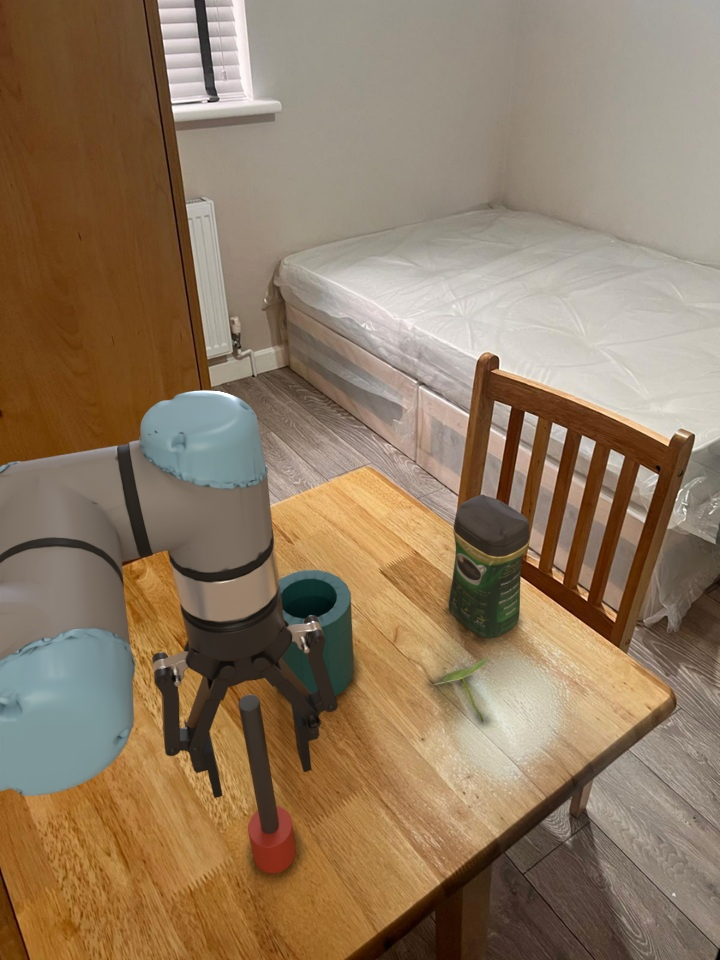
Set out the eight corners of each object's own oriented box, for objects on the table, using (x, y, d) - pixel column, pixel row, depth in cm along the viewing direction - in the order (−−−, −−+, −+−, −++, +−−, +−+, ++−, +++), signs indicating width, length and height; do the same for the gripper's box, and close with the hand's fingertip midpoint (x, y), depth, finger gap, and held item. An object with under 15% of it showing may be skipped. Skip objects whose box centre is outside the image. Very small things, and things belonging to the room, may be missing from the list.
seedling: (463, 729, 93) (443, 679, 95) (518, 706, 90) (495, 656, 92) (440, 738, 87) (419, 685, 89) (498, 714, 84) (474, 660, 86)
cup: (285, 711, 90) (275, 638, 83) (268, 651, 98) (258, 580, 91) (363, 690, 93) (361, 617, 85) (341, 633, 101) (337, 562, 93)
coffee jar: (528, 622, 101) (544, 516, 91) (487, 649, 98) (499, 542, 87) (478, 584, 108) (488, 482, 97) (438, 608, 104) (444, 504, 93)
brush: (257, 879, 73) (227, 730, 60) (249, 839, 77) (219, 689, 63) (300, 865, 75) (279, 716, 61) (290, 826, 78) (269, 676, 64)
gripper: (346, 532, 60) (354, 710, 73) (87, 588, 55) (145, 768, 68) (374, 592, 54) (378, 774, 67) (88, 661, 49) (151, 842, 62)
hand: (260, 771), depth 68 cm, fingers open, 8 cm apart
